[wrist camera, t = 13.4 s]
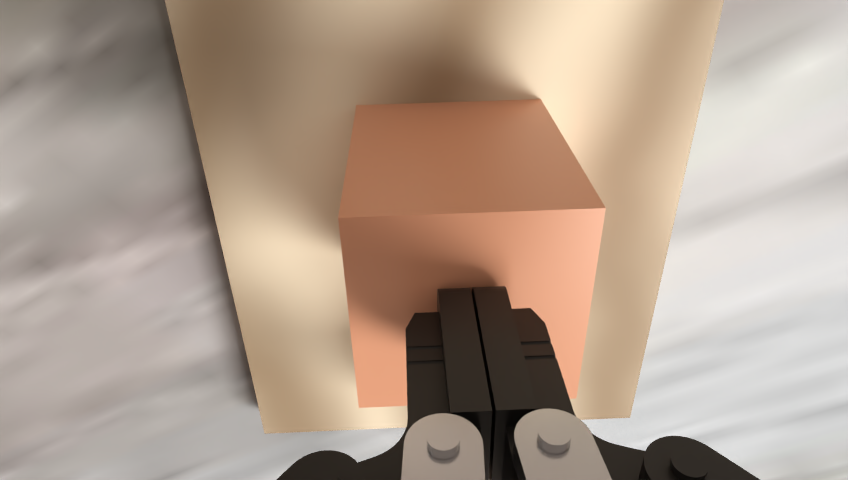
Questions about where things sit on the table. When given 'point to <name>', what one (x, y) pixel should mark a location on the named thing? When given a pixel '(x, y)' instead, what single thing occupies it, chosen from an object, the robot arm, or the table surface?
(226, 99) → the board
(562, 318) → the salmon orange block
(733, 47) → the table surface
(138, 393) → the table surface
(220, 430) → the table surface
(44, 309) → the table surface
